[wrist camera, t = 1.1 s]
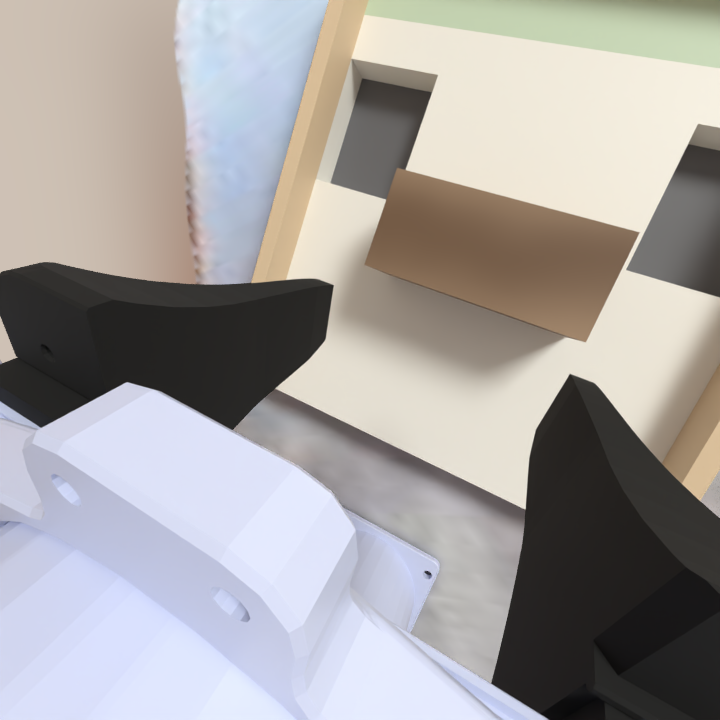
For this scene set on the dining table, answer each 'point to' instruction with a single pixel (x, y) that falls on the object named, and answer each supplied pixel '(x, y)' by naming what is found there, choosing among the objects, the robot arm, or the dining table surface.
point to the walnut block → (499, 252)
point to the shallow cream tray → (521, 182)
